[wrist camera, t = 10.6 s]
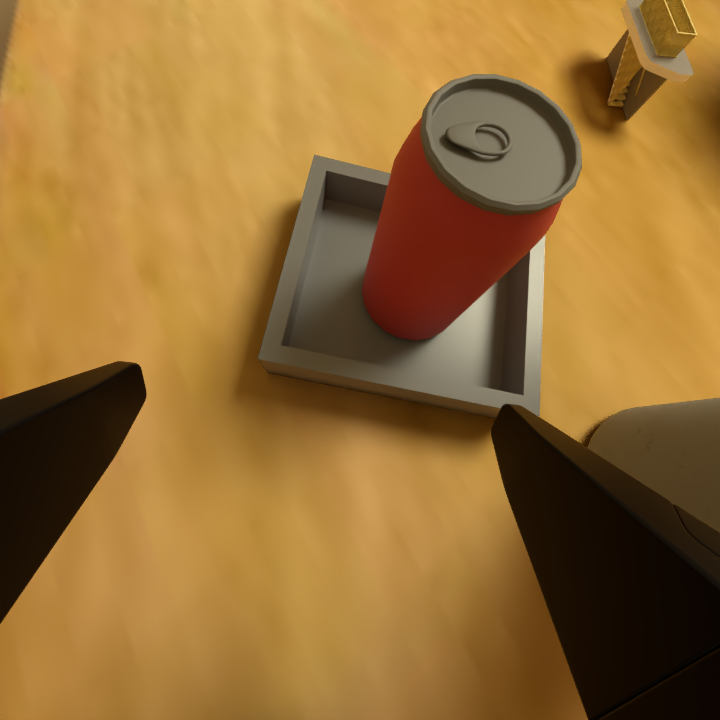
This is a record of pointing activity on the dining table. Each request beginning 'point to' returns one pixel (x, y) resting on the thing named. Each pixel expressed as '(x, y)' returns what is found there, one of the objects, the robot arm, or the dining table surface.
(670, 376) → the dining table surface
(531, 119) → the beer can
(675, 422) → the water bottle
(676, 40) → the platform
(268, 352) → the tray
